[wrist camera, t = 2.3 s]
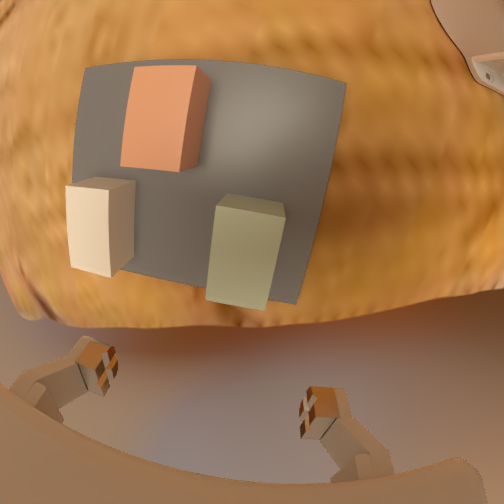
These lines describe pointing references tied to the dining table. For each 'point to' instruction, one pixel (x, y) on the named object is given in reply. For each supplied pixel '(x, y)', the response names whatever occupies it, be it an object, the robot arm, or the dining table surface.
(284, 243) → the baseplate
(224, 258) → the brick green
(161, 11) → the dining table surface
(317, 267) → the dining table surface
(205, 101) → the brick terracotta
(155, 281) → the dining table surface
